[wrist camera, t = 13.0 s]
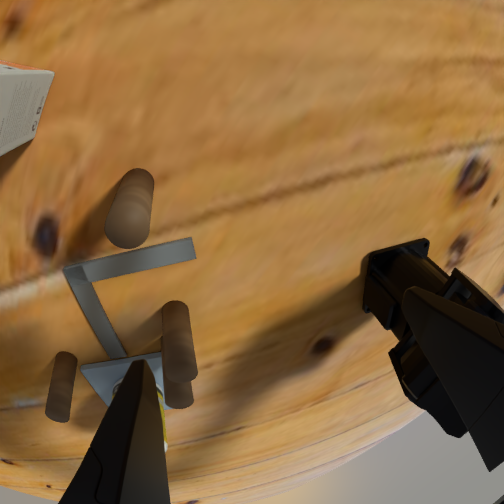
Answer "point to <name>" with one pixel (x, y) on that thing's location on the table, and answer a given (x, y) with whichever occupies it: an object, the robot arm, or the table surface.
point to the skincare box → (21, 103)
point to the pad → (119, 374)
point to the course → (124, 236)
